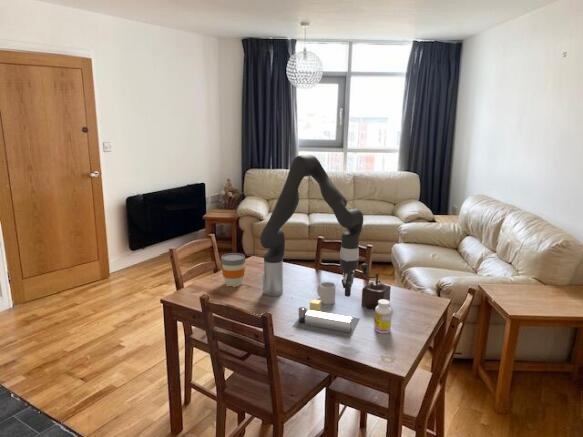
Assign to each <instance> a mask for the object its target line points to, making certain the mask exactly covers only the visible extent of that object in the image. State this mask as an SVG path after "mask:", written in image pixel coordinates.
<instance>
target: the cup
mask: <svg viewBox="0 0 583 437" xmlns="http://www.w3.org/2000/svg"><path fill="white" fill-rule="evenodd" d="M336 285H337V284H336V283H334V282H332V281H331V282H330V281H324V282H321V283H320V284H318V286H317V294H318V297H319V300H321V304H324V305H333V304H335V302H336V287H337V286H336Z"/></svg>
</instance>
